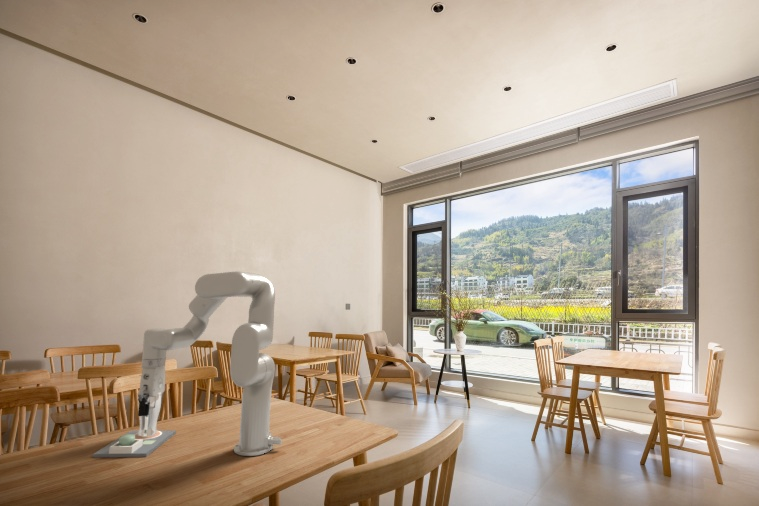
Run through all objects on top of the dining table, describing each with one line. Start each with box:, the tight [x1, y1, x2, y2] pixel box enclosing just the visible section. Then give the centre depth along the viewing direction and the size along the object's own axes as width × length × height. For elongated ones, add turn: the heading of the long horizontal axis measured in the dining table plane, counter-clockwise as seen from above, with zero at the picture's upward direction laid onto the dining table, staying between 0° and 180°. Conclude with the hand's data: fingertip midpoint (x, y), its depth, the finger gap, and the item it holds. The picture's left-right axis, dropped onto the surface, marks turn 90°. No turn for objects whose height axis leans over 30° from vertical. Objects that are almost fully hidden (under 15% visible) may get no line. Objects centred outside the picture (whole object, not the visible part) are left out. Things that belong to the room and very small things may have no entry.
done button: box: [118, 434, 135, 446], centre depth 127 cm, size 4×4×2 cm
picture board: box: [92, 429, 177, 458], centre depth 134 cm, size 16×22×3 cm
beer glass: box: [137, 391, 162, 438], centre depth 141 cm, size 7×7×15 cm
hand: (150, 411), depth 141 cm, fingers open, 9 cm apart
